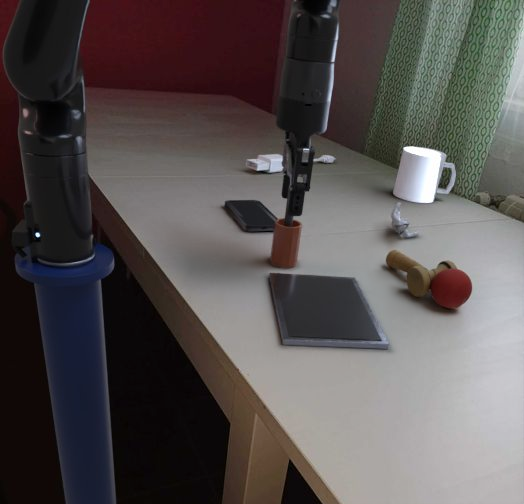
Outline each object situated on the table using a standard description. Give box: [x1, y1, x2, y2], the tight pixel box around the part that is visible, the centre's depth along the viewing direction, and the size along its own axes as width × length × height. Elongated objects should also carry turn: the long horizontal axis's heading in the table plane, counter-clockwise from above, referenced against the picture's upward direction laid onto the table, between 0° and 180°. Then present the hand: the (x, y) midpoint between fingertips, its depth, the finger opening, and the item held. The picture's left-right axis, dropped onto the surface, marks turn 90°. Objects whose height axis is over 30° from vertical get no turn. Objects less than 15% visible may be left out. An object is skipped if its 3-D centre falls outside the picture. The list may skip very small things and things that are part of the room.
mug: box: [392, 146, 457, 204], centre depth 130 cm, size 14×10×11 cm
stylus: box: [284, 185, 295, 227], centre depth 87 cm, size 1×1×13 cm
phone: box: [224, 199, 279, 233], centre depth 108 cm, size 8×1×15 cm
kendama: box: [385, 249, 473, 309], centre depth 87 cm, size 8×6×18 cm
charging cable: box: [245, 153, 337, 174], centre depth 145 cm, size 5×32×3 cm, turn 133°
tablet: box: [268, 272, 390, 350], centre depth 78 cm, size 14×20×1 cm
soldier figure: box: [390, 202, 420, 239], centre depth 109 cm, size 8×5×12 cm
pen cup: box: [269, 217, 303, 269], centre depth 89 cm, size 4×4×7 cm
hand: (291, 206), depth 86 cm, fingers open, 8 cm apart
